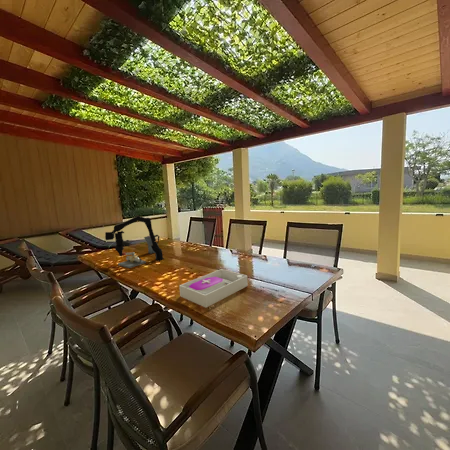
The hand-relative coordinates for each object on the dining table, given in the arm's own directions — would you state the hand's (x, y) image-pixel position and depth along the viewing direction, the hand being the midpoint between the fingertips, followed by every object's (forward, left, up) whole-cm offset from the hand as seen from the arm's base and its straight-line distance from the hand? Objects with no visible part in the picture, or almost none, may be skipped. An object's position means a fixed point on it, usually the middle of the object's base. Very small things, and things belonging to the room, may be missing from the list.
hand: (121, 256), depth 208 cm
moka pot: (+10, -41, -8) cm, 43 cm away
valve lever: (-2, -5, 0) cm, 5 cm away
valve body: (-7, -8, -6) cm, 12 cm away
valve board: (-7, -6, -8) cm, 11 cm away
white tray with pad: (-107, +2, -8) cm, 107 cm away
